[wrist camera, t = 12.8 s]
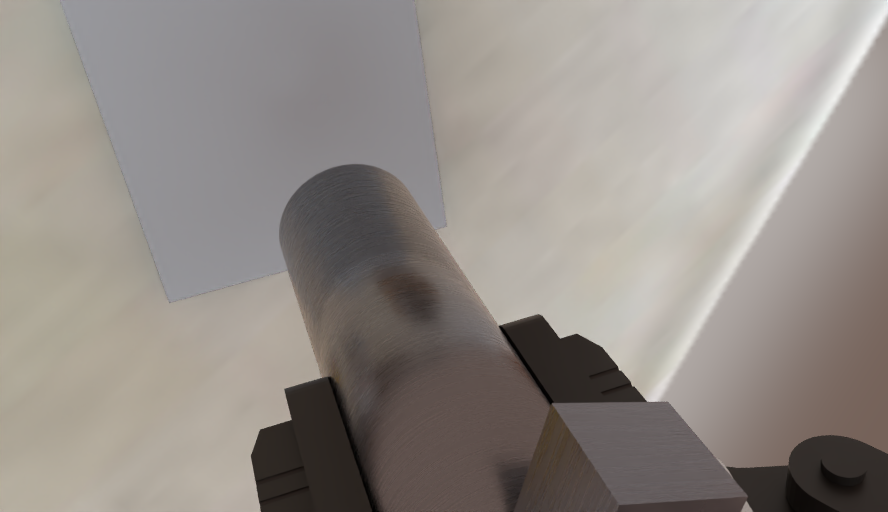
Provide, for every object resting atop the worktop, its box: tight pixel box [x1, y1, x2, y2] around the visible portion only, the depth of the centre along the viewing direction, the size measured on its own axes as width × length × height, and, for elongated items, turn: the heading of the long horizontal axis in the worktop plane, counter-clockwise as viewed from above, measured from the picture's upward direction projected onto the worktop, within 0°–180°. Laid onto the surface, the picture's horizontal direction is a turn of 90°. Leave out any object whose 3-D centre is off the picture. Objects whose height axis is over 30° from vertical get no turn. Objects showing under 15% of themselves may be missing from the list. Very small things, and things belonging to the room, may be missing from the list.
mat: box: [60, 0, 447, 303], centre depth 27 cm, size 12×10×1 cm
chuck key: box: [279, 164, 748, 512], centre depth 13 cm, size 3×6×11 cm, turn 166°
